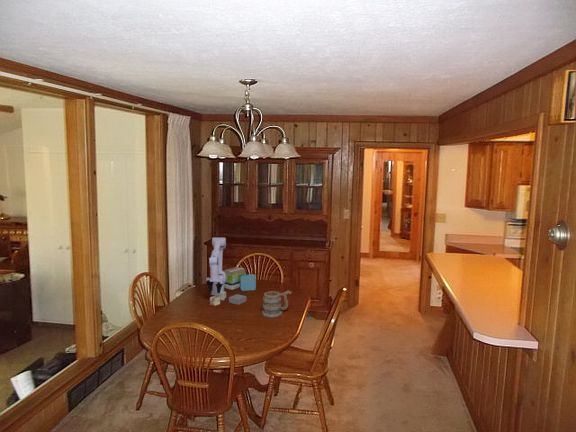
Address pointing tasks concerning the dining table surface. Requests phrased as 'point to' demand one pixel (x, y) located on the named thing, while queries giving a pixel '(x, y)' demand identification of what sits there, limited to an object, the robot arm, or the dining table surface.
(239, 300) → the base block
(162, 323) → the dining table surface
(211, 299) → the maple cube
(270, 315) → the tankard
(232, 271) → the tea box
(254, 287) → the data package
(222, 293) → the sage block
